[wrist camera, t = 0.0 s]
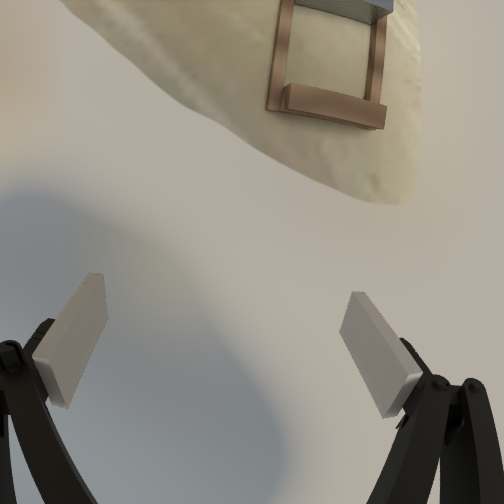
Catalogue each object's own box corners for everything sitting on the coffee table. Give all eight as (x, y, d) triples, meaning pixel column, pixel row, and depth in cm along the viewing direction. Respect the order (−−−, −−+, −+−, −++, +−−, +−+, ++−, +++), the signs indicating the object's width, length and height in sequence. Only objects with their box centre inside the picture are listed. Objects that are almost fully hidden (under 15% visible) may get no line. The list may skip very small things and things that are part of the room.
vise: (282, -15, 30) (293, -36, 24) (381, 12, 32) (404, -1, 26) (265, 109, 37) (274, 106, 31) (369, 129, 39) (393, 132, 33)
